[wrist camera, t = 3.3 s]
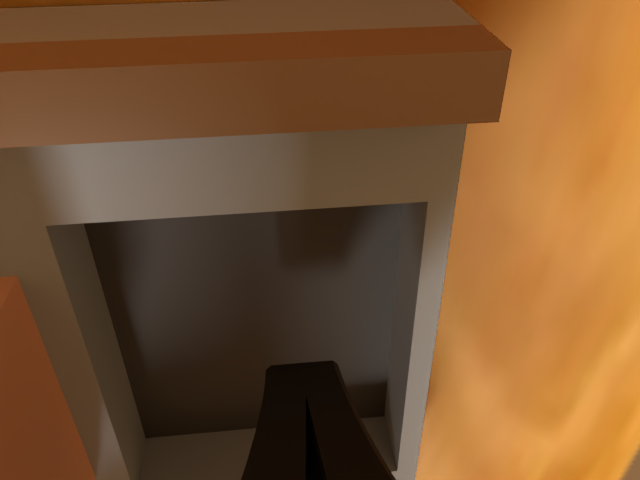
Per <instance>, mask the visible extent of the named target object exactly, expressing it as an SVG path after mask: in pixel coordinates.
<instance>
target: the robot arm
mask: <svg viewBox="0 0 640 480" xmlns="http://www.w3.org/2000/svg"><path fill="white" fill-rule="evenodd" d="M241 480H396V479H395V477H394V476H393V474H392V472H391V471H390V469H389V468H388V466H387V464H386V463H385V461H384V459H383V458H382V456H381V454H380V452H379V451H378V449H377V447H376V445H375V443H374V442H373V440H372V438H371V436H370V435H369V433H368V431H367V429H366V427H365V425H364V423H363V422H362V420H361V418H360V416H359V414H358V412H357V409H356V407H355V405H354V403H353V401H352V399H351V397H350V395H349V392H348V390H347V388H346V385H345V383H344V380H343V377H342V375H341V372H340V369H339V366H338V364H337V363H336V362H334V361H333V360H330V361H317V362H305V363H293V364H281V365H271V366H270V367H269V368H267V369H266V373H265V387H264V394H263V400H262V405H261V410H260V415H259V419H258V423H257V428H256V431H255V435H254V438H253V442H252V445H251V449H250V452H249V456H248V459H247V463H246V466H245V469H244V472H243V475H242V478H241Z"/></svg>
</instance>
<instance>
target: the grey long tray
mask: <svg viewBox="0 0 640 480" xmlns="http://www.w3.org/2000/svg"><path fill="white" fill-rule="evenodd" d="M511 51H512V50H511V49H510V48H508V47H507V46H506V45H505V44H504V43H503V42H501V41H500V40H499V39H498V38H497V37H495V36H494V35H493V34H492V33H491V32H489V31H488V30H487V29H486V28H485V27H484V26H482V25H481V24H480V23H479V22H478V21H476V20H475V19H474V18H473V17H472V16H470V15H469V14H468V13H467V12H466V11H465V10H463V9H462V8H461V7H460V6H459V5H457V4H456V3H455V2H454V1H453V0H226V1H197V2H167V3H138V4H109V5H79V6H50V7H20V8H0V277H10V276H17V277H18V280H19V282H20V285H21V287H22V290H23V293H24V295H25V298H26V300H27V303H28V305H29V308H30V310H31V313H32V316H33V318H34V321H35V323H36V326H37V328H38V331H39V333H40V336H41V339H42V341H43V344H44V346H45V349H46V351H47V354H48V356H49V359H50V362H51V364H52V367H53V369H54V372H55V374H56V377H57V379H58V382H59V385H60V387H61V390H62V392H63V395H64V397H65V400H66V402H67V405H68V408H69V410H70V413H71V415H72V418H73V420H74V423H75V425H76V428H77V431H78V433H79V436H80V438H81V441H82V443H83V446H84V448H85V451H86V454H87V456H88V459H89V461H90V464H91V466H92V469H93V471H94V474H95V480H241V478H242V475H243V472H244V469H245V466H246V463H247V459H248V456H249V452H250V449H251V445H252V442H253V438H254V435H255V431H256V428H257V423H258V419H259V415H260V410H261V405H262V400H263V394H264V387H265V373H266V369H267V368H269V367H270V366H271V365H281V364H293V363H305V362H317V361H330V360H333V361H334V362H336V363H337V364H338V366H339V369H340V372H341V375H342V377H343V380H344V383H345V385H346V388H347V390H348V392H349V395H350V397H351V399H352V401H353V403H354V405H355V407H356V409H357V412H358V414H359V416H360V418H361V420H362V422H363V423H364V425H365V427H366V429H367V431H368V433H369V435H370V436H371V438H372V440H373V442H374V443H375V445H376V447H377V449H378V451H379V452H380V454H381V456H382V458H383V459H384V461H385V463H386V464H387V466H388V468H389V469H390V471H391V472H392V474H393V476H394V477H395V479H396V480H415V477H416V470H417V463H418V456H419V449H420V442H421V436H422V429H423V422H424V415H425V408H426V401H427V394H428V388H429V381H430V374H431V367H432V360H433V353H434V346H435V340H436V333H437V326H438V319H439V312H440V305H441V298H442V292H443V285H444V278H445V271H446V264H447V257H448V250H449V244H450V237H451V230H452V223H453V216H454V209H455V202H456V196H457V189H458V182H459V175H460V168H461V161H462V154H463V148H464V141H465V134H466V127H467V124H469V123H488V122H499V118H500V112H501V107H502V101H503V95H504V90H505V84H506V79H507V73H508V68H509V62H510V56H511Z"/></svg>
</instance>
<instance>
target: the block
mask: <svg viewBox="0 0 640 480" xmlns="http://www.w3.org/2000/svg"><path fill="white" fill-rule="evenodd" d="M0 480H95V474H94V471H93V469H92V466H91V464H90V461H89V459H88V456H87V454H86V451H85V448H84V446H83V443H82V441H81V438H80V436H79V433H78V431H77V428H76V425H75V423H74V420H73V418H72V415H71V413H70V410H69V408H68V405H67V402H66V400H65V397H64V395H63V392H62V390H61V387H60V385H59V382H58V379H57V377H56V374H55V372H54V369H53V367H52V364H51V362H50V359H49V356H48V354H47V351H46V349H45V346H44V344H43V341H42V339H41V336H40V333H39V331H38V328H37V326H36V323H35V321H34V318H33V316H32V313H31V310H30V308H29V305H28V303H27V300H26V298H25V295H24V293H23V290H22V287H21V285H20V282H19V280H18V277H17V276H10V277H0Z"/></svg>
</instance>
